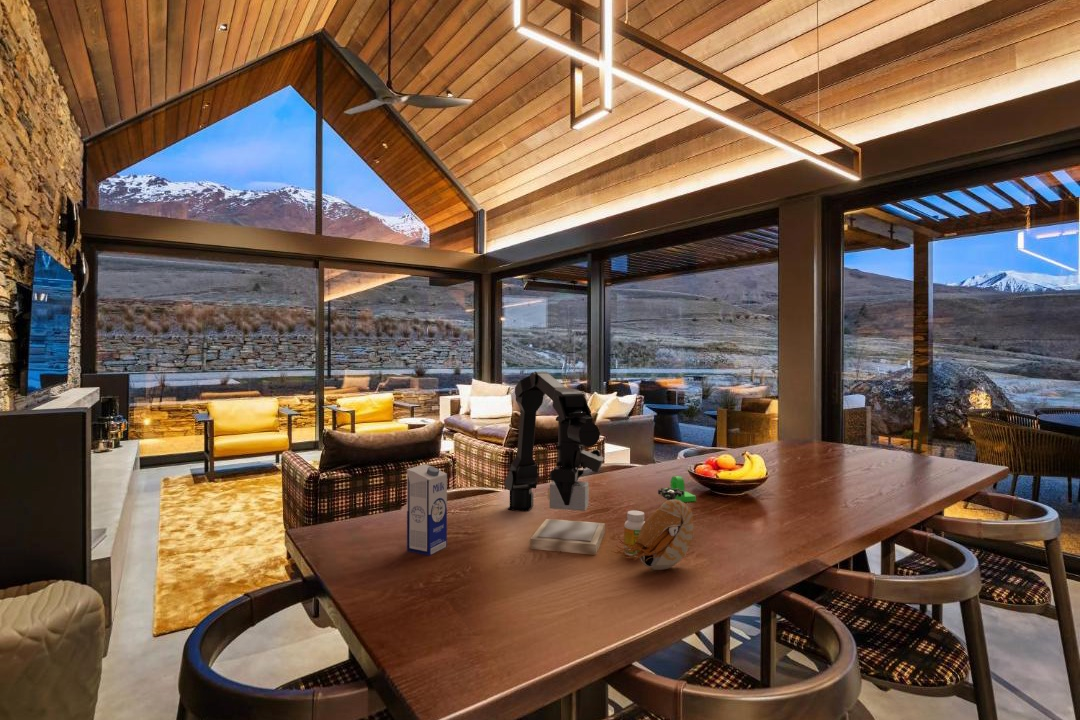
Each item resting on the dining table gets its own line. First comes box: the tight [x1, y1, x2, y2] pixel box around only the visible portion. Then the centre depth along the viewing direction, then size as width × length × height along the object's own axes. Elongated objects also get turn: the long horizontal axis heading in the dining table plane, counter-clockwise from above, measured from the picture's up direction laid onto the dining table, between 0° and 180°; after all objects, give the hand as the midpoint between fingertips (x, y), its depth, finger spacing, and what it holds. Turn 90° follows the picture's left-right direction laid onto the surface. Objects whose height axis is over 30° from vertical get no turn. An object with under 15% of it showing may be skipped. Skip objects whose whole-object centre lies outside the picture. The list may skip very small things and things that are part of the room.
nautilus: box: [611, 499, 694, 571], centre depth 118 cm, size 8×22×15 cm, turn 119°
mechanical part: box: [664, 475, 697, 503], centre depth 181 cm, size 12×6×8 cm, turn 15°
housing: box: [547, 480, 590, 512], centre depth 138 cm, size 5×10×6 cm, turn 76°
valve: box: [657, 486, 684, 501], centre depth 141 cm, size 7×7×12 cm
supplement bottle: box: [623, 510, 646, 557], centre depth 129 cm, size 5×5×10 cm
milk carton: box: [406, 463, 448, 556], centre depth 131 cm, size 7×7×20 cm
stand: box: [529, 518, 606, 556], centre depth 138 cm, size 16×17×3 cm
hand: (569, 502), depth 138 cm, fingers closed on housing, 5 cm apart
